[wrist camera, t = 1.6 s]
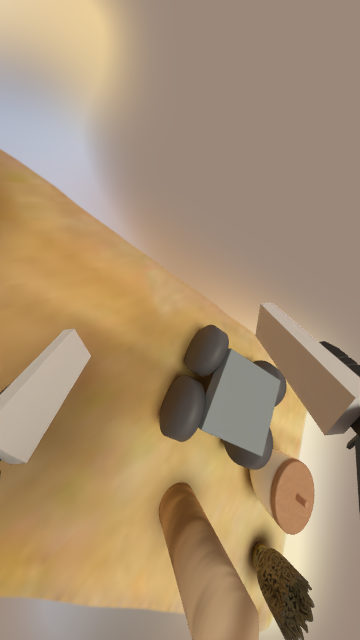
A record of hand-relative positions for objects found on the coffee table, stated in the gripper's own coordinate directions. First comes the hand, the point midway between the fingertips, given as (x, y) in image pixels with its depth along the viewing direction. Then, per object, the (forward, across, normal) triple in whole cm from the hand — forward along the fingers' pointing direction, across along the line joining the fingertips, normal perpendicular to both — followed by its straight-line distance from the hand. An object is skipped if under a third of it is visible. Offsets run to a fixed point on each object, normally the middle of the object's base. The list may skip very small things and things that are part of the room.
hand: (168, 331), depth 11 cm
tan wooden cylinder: (-4, -4, -34) cm, 35 cm away
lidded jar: (+2, +13, -42) cm, 44 cm away
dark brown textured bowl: (-8, +9, -51) cm, 53 cm away
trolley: (+11, +5, -24) cm, 26 cm away
